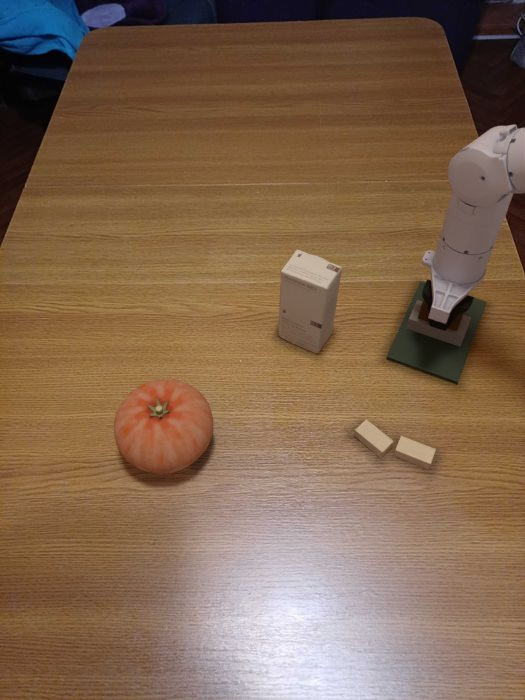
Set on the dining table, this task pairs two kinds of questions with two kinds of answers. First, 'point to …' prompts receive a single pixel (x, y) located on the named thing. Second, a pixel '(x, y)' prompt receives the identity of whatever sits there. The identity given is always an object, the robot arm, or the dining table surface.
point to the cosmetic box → (308, 300)
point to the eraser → (421, 325)
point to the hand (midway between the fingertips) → (441, 317)
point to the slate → (434, 345)
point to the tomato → (163, 426)
